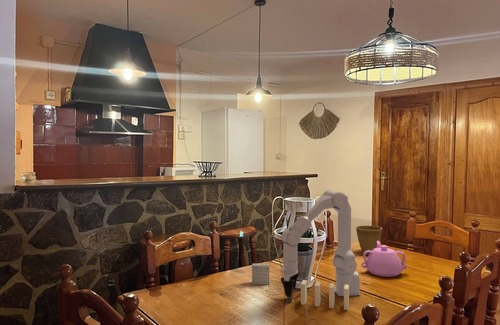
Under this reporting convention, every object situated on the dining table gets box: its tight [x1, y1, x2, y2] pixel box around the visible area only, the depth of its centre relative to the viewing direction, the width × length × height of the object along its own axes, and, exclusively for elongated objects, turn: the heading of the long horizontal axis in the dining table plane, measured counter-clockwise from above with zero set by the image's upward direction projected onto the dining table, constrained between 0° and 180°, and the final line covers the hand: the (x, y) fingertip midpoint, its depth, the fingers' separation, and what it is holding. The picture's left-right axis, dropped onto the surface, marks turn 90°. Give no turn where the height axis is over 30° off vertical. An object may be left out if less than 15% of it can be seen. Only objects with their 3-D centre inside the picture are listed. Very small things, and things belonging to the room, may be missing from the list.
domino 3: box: [314, 281, 322, 307], centre depth 142 cm, size 2×5×8 cm, turn 162°
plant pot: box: [355, 225, 383, 257], centre depth 216 cm, size 15×15×16 cm
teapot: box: [361, 240, 408, 278], centre depth 182 cm, size 22×22×14 cm
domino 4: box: [328, 282, 336, 309], centre depth 141 cm, size 2×5×8 cm, turn 162°
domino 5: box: [343, 285, 350, 311], centre depth 139 cm, size 2×5×8 cm, turn 162°
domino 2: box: [300, 279, 308, 306], centre depth 144 cm, size 2×5×8 cm, turn 162°
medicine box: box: [251, 262, 270, 286], centre depth 166 cm, size 8×4×9 cm, turn 92°
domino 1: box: [286, 290, 294, 304], centre depth 146 cm, size 2×5×8 cm, turn 161°
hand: (290, 293), depth 146 cm, fingers open, 6 cm apart
